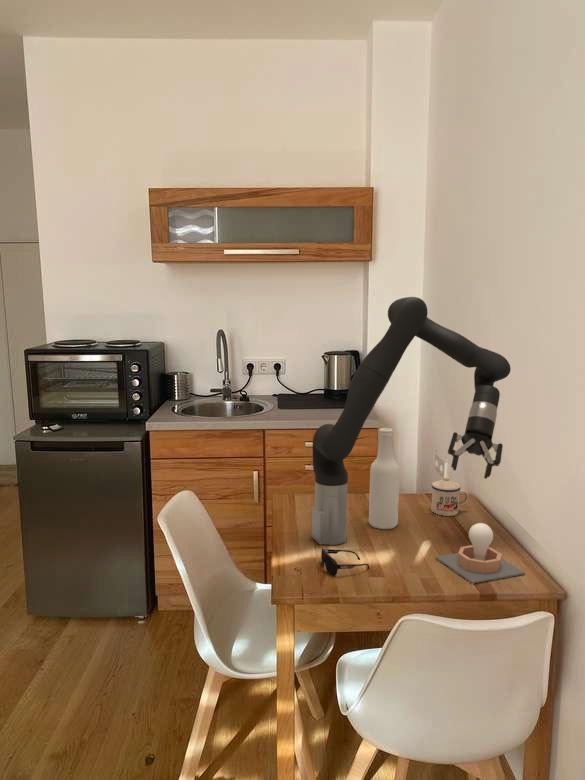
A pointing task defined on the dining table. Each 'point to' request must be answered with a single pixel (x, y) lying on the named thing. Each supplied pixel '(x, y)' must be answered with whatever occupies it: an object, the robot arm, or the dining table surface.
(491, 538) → the lightbulb
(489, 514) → the dining table surface
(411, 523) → the dining table surface
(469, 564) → the ring holder
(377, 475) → the alcohol
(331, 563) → the sunglasses
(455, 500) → the teacup with lid
